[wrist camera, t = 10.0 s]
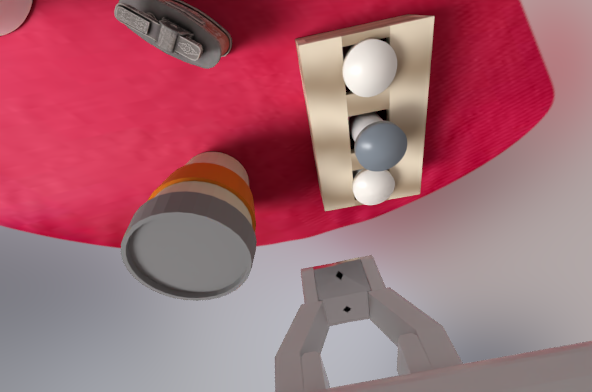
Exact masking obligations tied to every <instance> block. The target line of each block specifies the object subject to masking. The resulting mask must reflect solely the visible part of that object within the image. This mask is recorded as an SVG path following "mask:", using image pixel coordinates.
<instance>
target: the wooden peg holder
mask: <svg viewBox="0 0 592 392" xmlns="http://www.w3.org/2000/svg"><path fill="white" fill-rule="evenodd" d="M434 18H435V16H426V15H409V14H407V15H403V16H398V17H394V18H389V19H385V20H380V21H375V22H371V23H366V24H362V25H357V26H353V27H348V28H343V29H339V30H334V31H330V32H325V33H321V34H316V35H311V36H307V37H302V38H298V39H295V42H296V48H297V54H298V60H299V66H300V72H301V78H302V85H303V91H304V97H305V103H306V109H307V115H308V121H309V127H310V133H311V139H312V145H313V151H314V157H315V164H316V170H317V176H318V182H319V187H320V192H321V196H322V200H323V204H324V209H325V211H329V210H334V209H340V208H345V207H351V206H356V205H362V203H360V202H359V201H358V200H357V199H356V198H355V196H354V193H353V190H352V182H353V174H352V171H354V170H359V169H365V168H364V167H363V166H362V165H361V164H360V163H359V161H358V159H357V157H356V155H355V152H354V149H352V150H351V149H350V137H349V124H348V117H349V116H354V115H359V114H364V113H369V112H374V111H379V110H384V109H386V121H389V122H392V123H394V124H396V125H397V126H398V127H399V128H400V129H401V130H402V131H403V132H404V133H405V135H406V137H407V150H406V152H405V155H404V156H403V158H402V159H401V160H400V162H398V163H397V164H396V165H395V166H393V167H392V168H390V169H387V170H388V171H389V172H390V174H391V175H392V177H393V178H394V181H395V188H394V191H393V193H392V194H391V196H390V197H389V198H388V199H386V200H390V199H395V198H401V197H406V196H412V195H417V194H420V187H421V175H422V163H423V151H424V139H425V127H426V115H427V103H428V90H429V78H430V66H431V54H432V42H433V30H434ZM370 38H372V39H382V38H386V43H388V44H389V45H390V46H391V47H392V48H393V50H394V52H395V54H396V57H397V71H396V74H395V77H394V79H393V81H392V82H391V84H390V85H389V86H388V87H387V89H385V90H384V91H383V92H381V93H380V94H378V95H376V96H372V97H361V96H358V95H356V94H354V93H353V92H352V91H350V92H346V87H345V82H344V80H343V76H342V66H343V50H342V47H344V46H349V45H354V44H356V43H358V42H360V41H362V40H365V39H370Z"/></svg>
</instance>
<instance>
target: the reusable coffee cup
mask: <svg viewBox="0 0 592 392" xmlns="http://www.w3.org/2000/svg"><path fill="white" fill-rule="evenodd" d="M255 227H256V221H255V210H254V201H253V195H252V192H251V190H250V188H249V179H248V175H247V172H246V170H245V169H244V167H243V166H242V165H241V164H240V163H239V161H237V160H236V159H234V158H233V157H231V156H229V155H227V154H224V153H220V152H205V153H201V154H199V155H196V156H195V157H193V158H192V159H191V160H190V161H189V162H188V163H187V164H186V165H185V166H183V167H181V168H179V169H177V170H176V171H175V172H173V173H172V174H171V175H170V176H169V177H168V178H167V179H166V180H165V181H164V182H163V183H162V184H161V185H160V186H159V187H158V188H157V189H156V190H155V191H154V192H153V193H152V195H151V196H150V197H149V199H148V201H147V202H146V203H144V204H143V205H142V206H141V207H140V208H139V209H138V210H137V212H136V213H135V214H134V216H133V218H132V220H131V222H130V224H129V227H128V229H127V231H126V233H125V235H124V238H123V240H122V243H121V255H122V259H123V263H124V264H125V266H126V268H127V270H128V271H129V272H130V273H131V274H132V276H133V277H135V279H137V280H138V281H139V282H140V283H142V284H143V285H145V286H146V287H148V288H150V289H151V290H153V291H155V292H158V293H160V294H163V295H166V296H169V297H173V298H177V299H183V300H209V299H214V298H219V297H221V296H224V295H227V294H229V293H231V292H233V291H235V290H236V289H237V288H239V287H240V286H241V285H242V284H243V283H244V282H245V281H246V279H247V278H248V276H249V273H250V271H251V268H252V263H253V259H254V255H255V251H256V236H255Z"/></svg>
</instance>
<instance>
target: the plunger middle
mask: <svg viewBox="0 0 592 392" xmlns="http://www.w3.org/2000/svg"><path fill="white" fill-rule="evenodd" d="M348 124H349V133H350V134H351V136H352V138H353V140H354V141H355V144H354V152H355V155H356V157H357V159H358V161H359V163H360V164H361V165H362V166H363V167H364V168H365V169H367V170H370V171H376V172H377V171H384V170H387V169H390V168H392V167H393V166H395V165H396V164H397V163H398V162H400V160H401V159H402V158H403V156H404V155H405V152H406V150H407V137H406V135H405V133H404V132H403V131H402V130H401V129H400V128H399V127H398V126H397V125H396V124H394V123H392V122H389V121H383V120H382V118H381V117H380V116H379V115H378V114H377V113H376V112H375V111H374V112H369V113H364V114H359V115H354V116H351V117H350V119H349V121H348Z"/></svg>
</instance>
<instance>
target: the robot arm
mask: <svg viewBox="0 0 592 392" xmlns="http://www.w3.org/2000/svg"><path fill="white" fill-rule="evenodd" d="M31 5H32V0H0V36H2V35H6V34H8V33H10V32H12V31H14V30H15V29H17V28H18V27H19V26H20V25H21V24H22V23H23V22H24V20H25V19H26V17H27V15H28V13H29V11H30V8H31ZM301 278H302V286H303V294H304V302H305V304H302V305H301V306H300V308H299V310H298V312H297V314H296V316H295V318H294V320H293V322H292V324H291V327H290V328H289V330H288V332H287V334H286V336H285V338H284V340H283V342H282V344H281V346H280V348H279V350H278V352H277V354H276V356H275V392H592V341H587V342H582V343H576V344H571V345H565V346H560V347H554V348H549V349H543V350H538V351H532V352H527V353H521V354H515V355H510V356H505V357H499V358H493V359H488V360H482V361H477V362H471V363H466V364H463V363H462V361H461V359H460V358H459V356H458V354H457V352H456V350H455V348H454V346H453V345H452V343H451V341H450V339H449V337H448V335H447V333H446V331H445V330H444V328H443V326H442V325H440V324H439V323H438V322H436V321H435V320H433V319H432V318H431V317H429V316H428V315H427V314H425V313H424V312H422V311H421V310H420V309H418V308H417V307H416V306H414V305H413V304H411V303H410V302H409V301H407V300H406V299H405V298H403V297H402V296H401V295H399V294H398V293H396V292H395V291H394V290H392V289H391V288H386V287H385V285H384V282H383V280H382V277H381V275H380V273H379V271H378V268H377V266H376V263H375V261H374V258H373V256H371V255H370V256H365V257H360V258H354V259H349V260H345V261H340V262H336V263H332V264H326V265H321V266H315V267H310V268H305V269H301ZM364 319H370V320H371V321H372V322H373V323H374V324H375V325H376V326H377V327H378V328H379V329H380V330H381V331H382V332H383V333H384V334H385V335H386V336H387V337H388V338H389V339H390V340H391V341H392V342H393V343H394V344H395V345H396V346H397V347H398V358H397V371H398V374H399V376H394V377H388V378H383V379H377V380H372V381H366V382H361V383H355V384H350V385H344V386H339V387H333V388H330V386H329V381H328V378H327V375H326V372H325V369H324V366H323V362H322V359H321V356H320V354H321V351H322V348H323V345H324V342H325V339H326V336H327V333H328V330H329V326H333V325H337V324H342V323H346V322H351V321H357V320H364Z"/></svg>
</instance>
